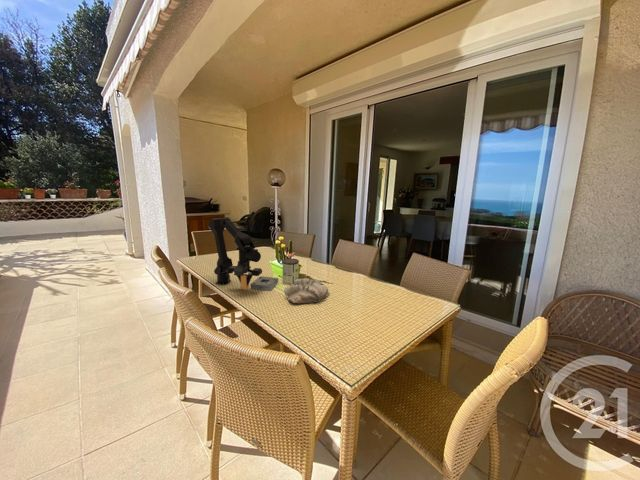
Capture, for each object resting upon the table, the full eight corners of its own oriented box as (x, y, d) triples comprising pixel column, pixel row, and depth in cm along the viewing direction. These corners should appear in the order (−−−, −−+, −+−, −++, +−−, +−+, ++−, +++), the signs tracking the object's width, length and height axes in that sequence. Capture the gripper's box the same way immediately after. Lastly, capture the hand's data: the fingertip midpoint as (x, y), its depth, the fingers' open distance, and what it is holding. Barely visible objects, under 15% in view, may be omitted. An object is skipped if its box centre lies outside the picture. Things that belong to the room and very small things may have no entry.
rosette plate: (250, 288, 148) (250, 283, 147) (260, 280, 161) (260, 275, 161) (270, 291, 146) (270, 285, 145) (278, 282, 159) (278, 277, 159)
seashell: (302, 307, 123) (294, 277, 125) (282, 312, 136) (275, 284, 138) (341, 293, 142) (333, 267, 145) (320, 298, 155) (314, 274, 158)
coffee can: (284, 278, 167) (284, 257, 164) (299, 279, 166) (300, 258, 163) (280, 284, 157) (280, 262, 154) (296, 285, 156) (297, 263, 153)
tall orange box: (241, 288, 144) (240, 275, 142) (243, 286, 147) (243, 273, 145) (246, 289, 143) (246, 276, 142) (248, 287, 146) (248, 274, 145)
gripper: (220, 261, 135) (222, 288, 138) (253, 264, 132) (254, 292, 135) (231, 255, 146) (232, 281, 149) (262, 258, 143) (262, 284, 146)
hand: (244, 285), depth 145 cm, fingers closed on tall orange box, 3 cm apart
